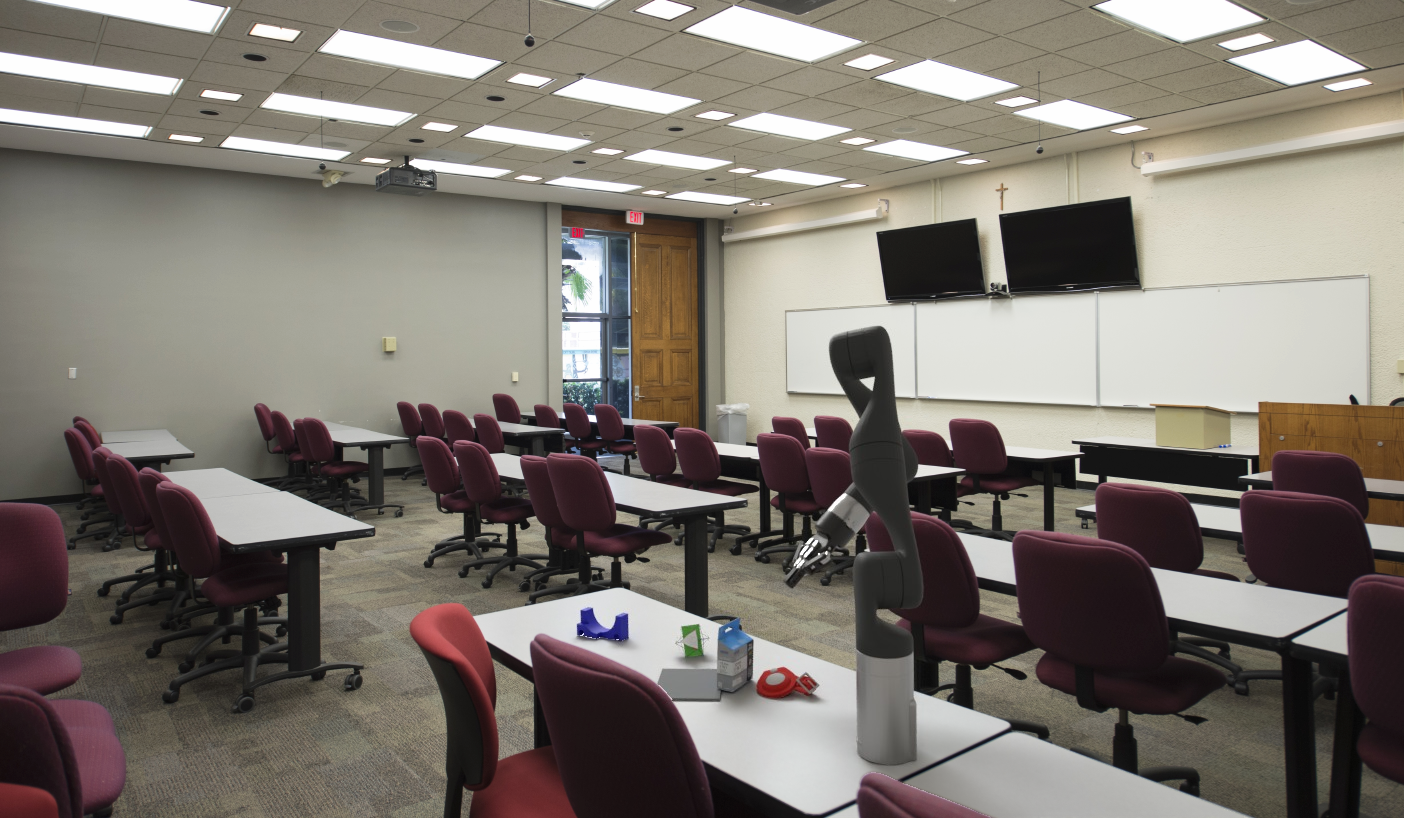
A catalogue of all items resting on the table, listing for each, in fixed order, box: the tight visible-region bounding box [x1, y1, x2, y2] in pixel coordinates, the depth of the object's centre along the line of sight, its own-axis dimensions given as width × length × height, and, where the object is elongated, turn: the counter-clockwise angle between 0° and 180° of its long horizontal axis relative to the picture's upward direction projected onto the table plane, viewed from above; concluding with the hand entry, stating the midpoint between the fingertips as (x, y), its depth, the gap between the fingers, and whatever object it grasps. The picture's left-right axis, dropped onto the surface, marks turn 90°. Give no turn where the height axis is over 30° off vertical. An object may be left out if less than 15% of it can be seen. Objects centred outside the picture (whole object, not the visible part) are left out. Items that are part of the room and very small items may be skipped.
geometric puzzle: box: [674, 623, 710, 659], centre depth 190 cm, size 7×7×8 cm
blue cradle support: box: [576, 606, 630, 642], centre depth 204 cm, size 12×4×6 cm, turn 59°
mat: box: [656, 668, 722, 702], centre depth 172 cm, size 13×16×1 cm
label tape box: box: [716, 617, 755, 693], centre depth 171 cm, size 9×4×12 cm, turn 149°
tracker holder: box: [756, 666, 820, 699], centre depth 169 cm, size 12×4×10 cm
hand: (787, 585), depth 173 cm, fingers closed
